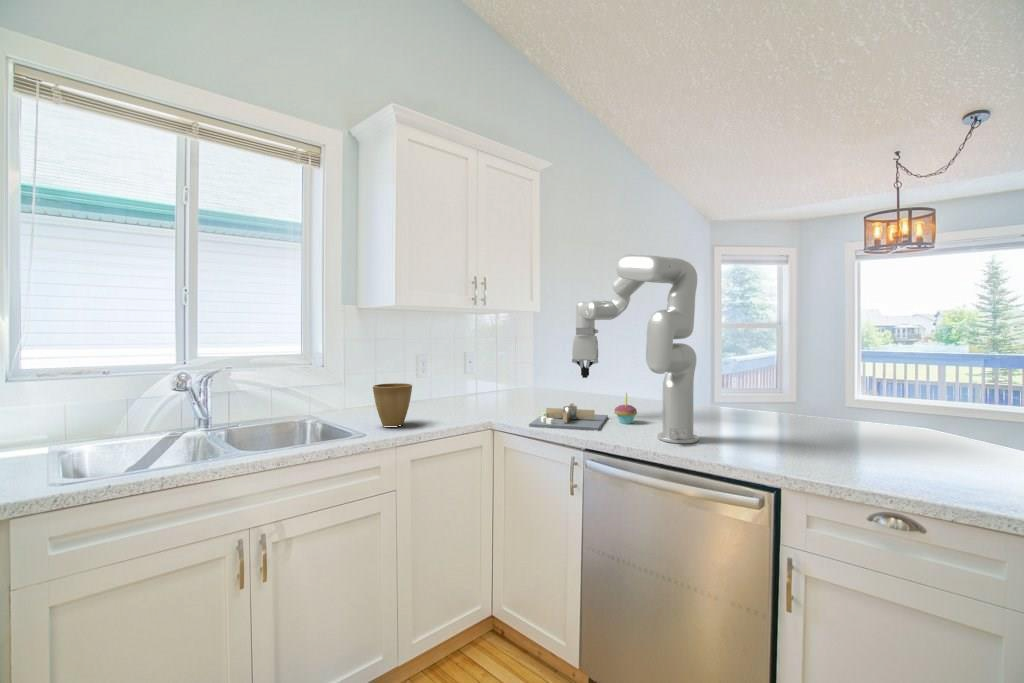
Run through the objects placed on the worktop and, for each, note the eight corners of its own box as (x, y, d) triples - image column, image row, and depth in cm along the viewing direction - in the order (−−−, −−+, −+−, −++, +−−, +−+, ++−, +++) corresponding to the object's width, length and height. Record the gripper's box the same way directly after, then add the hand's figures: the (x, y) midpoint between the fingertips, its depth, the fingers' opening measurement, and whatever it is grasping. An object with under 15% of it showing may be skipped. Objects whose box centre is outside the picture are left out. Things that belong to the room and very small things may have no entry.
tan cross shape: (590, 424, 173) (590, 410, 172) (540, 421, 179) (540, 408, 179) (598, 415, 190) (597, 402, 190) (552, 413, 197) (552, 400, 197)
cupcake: (639, 425, 177) (639, 393, 177) (616, 425, 177) (616, 393, 177) (633, 420, 186) (633, 390, 185) (612, 420, 186) (612, 390, 186)
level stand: (598, 430, 168) (598, 422, 168) (529, 426, 177) (529, 419, 177) (607, 417, 193) (607, 410, 193) (546, 414, 201) (546, 407, 201)
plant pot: (407, 429, 173) (407, 387, 173) (368, 430, 174) (367, 387, 173) (416, 421, 188) (416, 382, 188) (380, 422, 189) (379, 382, 188)
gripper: (605, 332, 190) (604, 377, 191) (569, 332, 195) (568, 375, 196) (602, 332, 183) (602, 379, 184) (565, 332, 188) (564, 377, 189)
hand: (585, 377), depth 190 cm, fingers closed
